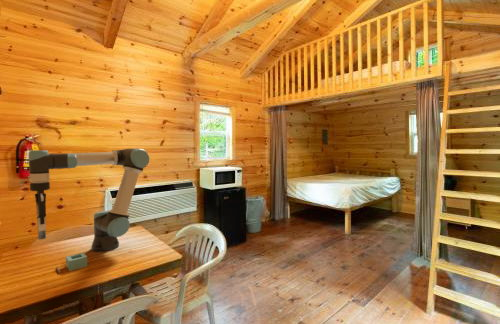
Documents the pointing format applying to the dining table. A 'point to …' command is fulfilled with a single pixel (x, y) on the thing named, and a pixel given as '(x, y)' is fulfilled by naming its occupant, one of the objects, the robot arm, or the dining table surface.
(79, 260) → the green hollow block
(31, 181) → the robot arm
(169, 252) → the dining table surface
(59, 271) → the lace
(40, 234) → the grey long bar
